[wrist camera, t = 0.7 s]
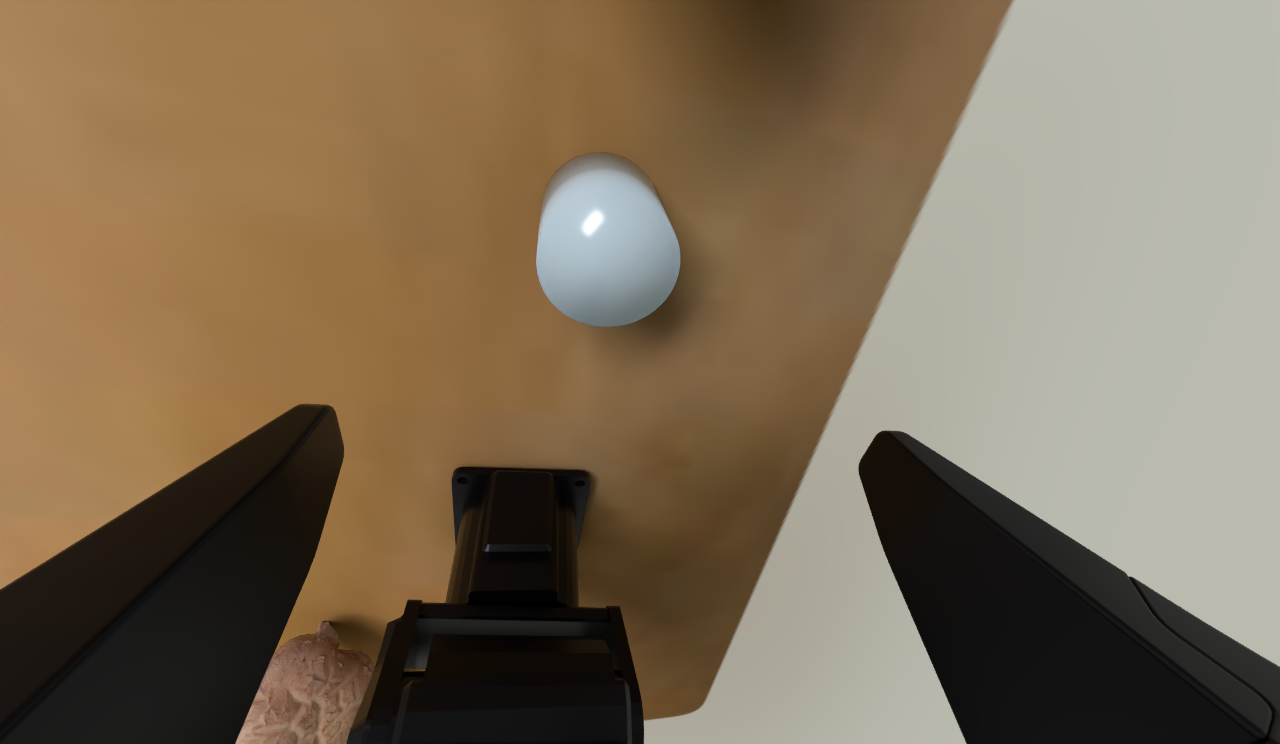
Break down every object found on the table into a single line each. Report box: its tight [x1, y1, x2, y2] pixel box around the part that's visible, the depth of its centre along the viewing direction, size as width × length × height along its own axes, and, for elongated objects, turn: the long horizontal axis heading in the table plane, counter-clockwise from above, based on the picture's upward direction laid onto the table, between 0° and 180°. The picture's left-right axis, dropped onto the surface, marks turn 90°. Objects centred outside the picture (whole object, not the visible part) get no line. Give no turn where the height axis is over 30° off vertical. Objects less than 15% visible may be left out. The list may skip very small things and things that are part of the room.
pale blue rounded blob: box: [536, 152, 681, 327], centre depth 15 cm, size 4×4×4 cm
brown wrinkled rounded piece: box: [235, 622, 375, 744], centre depth 27 cm, size 8×6×8 cm
